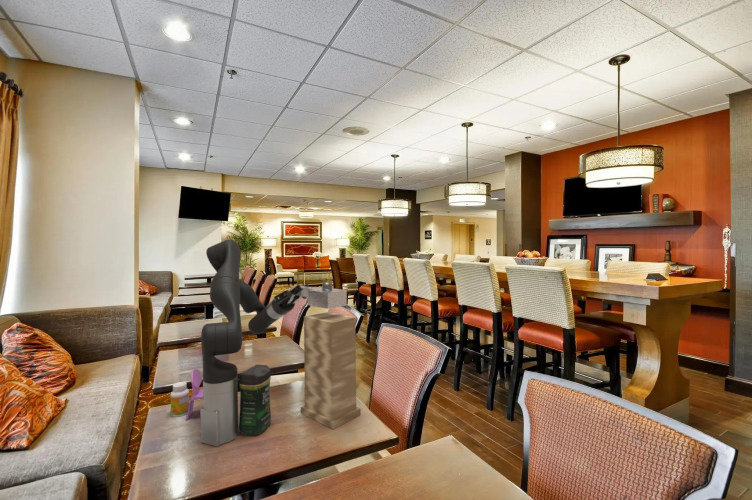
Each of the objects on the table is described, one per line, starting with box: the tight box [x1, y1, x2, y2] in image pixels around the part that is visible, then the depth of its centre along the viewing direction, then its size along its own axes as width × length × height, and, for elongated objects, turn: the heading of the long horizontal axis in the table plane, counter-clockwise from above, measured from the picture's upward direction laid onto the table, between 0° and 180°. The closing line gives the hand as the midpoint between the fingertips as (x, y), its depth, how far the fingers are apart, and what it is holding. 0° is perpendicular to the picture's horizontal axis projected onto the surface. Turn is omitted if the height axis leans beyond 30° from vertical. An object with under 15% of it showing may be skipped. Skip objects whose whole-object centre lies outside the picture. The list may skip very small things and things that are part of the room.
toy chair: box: [185, 368, 203, 422], centre depth 115 cm, size 8×9×15 cm
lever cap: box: [290, 281, 348, 310], centre depth 119 cm, size 23×8×7 cm, turn 48°
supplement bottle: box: [170, 381, 190, 418], centre depth 116 cm, size 5×5×10 cm
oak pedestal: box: [300, 311, 362, 430], centre depth 115 cm, size 16×12×32 cm
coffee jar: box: [238, 364, 272, 436], centre depth 106 cm, size 10×8×19 cm
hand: (304, 286), depth 123 cm, fingers closed on lever cap, 3 cm apart
